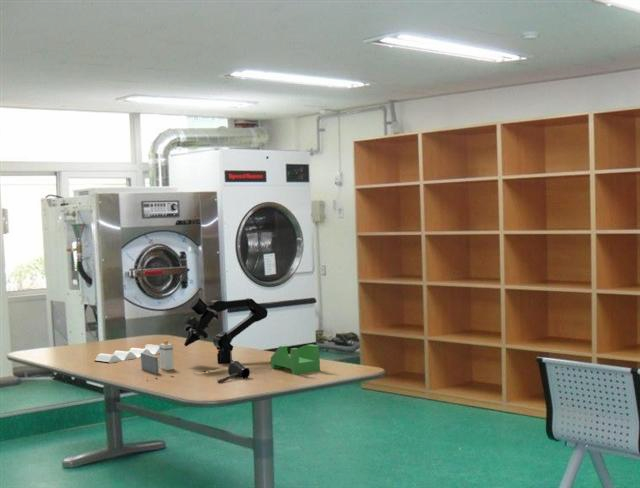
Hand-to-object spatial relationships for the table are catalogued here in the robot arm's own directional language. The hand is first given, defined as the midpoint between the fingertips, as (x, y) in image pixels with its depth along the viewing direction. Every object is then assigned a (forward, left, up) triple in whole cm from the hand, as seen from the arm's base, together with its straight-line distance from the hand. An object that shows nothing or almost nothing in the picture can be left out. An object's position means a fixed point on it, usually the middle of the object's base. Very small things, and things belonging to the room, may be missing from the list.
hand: (184, 345), depth 418 cm
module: (+8, +6, -10) cm, 14 cm away
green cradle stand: (-57, +12, -12) cm, 59 cm away
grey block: (+10, +8, -11) cm, 17 cm away
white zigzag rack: (+46, -40, -12) cm, 62 cm away
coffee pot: (-31, +32, -12) cm, 46 cm away
